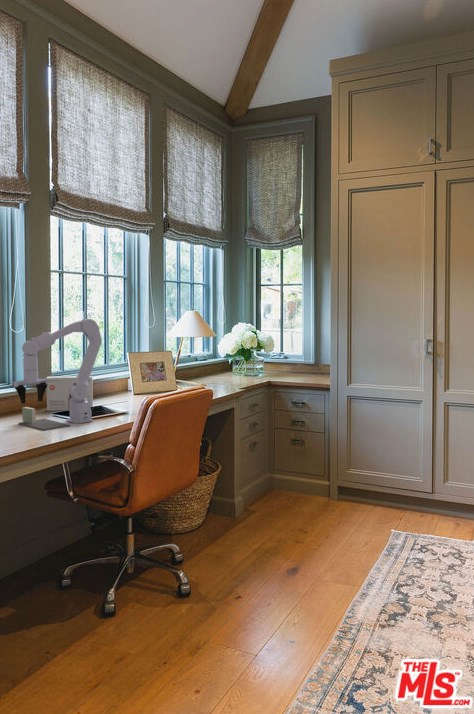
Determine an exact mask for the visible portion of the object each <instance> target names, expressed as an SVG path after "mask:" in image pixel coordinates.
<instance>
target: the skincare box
mask: <svg viewBox="0 0 474 714" xmlns="http://www.w3.org/2000/svg"><path fill="white" fill-rule="evenodd" d="M77 376H78V375H71V376H68V375H67V376H66V375H65V376H64V375H63V376H61V375H59V376H57V375H56V376H54V375H53V376H52V375H51V376H47V377H46V378H45V379H48V383H47V388H46V411H48V412H49V411H50V412H52V411H53V412H54V411H70V409H69V399H70V398H71V396H70V394H69V388H70V387H71V386H72V385H73V383H74V381H75V379H76V378H77ZM93 381H94V380H93V375H90V377H89V379H88V386H87V396H86V399H87V402H88V403H89V404H90V405H91V407H92V406H93V407H94V399H93V398H94V397H93V396H94V395H93V392H94V389H93V387H94V386H93V385H94V384H93Z"/></svg>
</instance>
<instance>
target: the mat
mask: <svg viewBox="0 0 474 714" xmlns="http://www.w3.org/2000/svg"><path fill="white" fill-rule="evenodd" d="M17 424H18V425H20V426H25V427H28V428H32V429H36V430H39V431H43V432H44V431H45V430H46V431H51V430H56V429H57V430H58V429H62V428H68V427H71V424H67V423H64V422H59V421H56V420H52V419H48V418H47V419H46V418H39V419H36V423H33V424H30V423H26V422H23V421H21V422H18V423H17Z"/></svg>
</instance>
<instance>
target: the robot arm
mask: <svg viewBox="0 0 474 714" xmlns="http://www.w3.org/2000/svg"><path fill="white" fill-rule="evenodd" d="M72 333H83V335H84V336H85V337H86V339H87V341H88V345H87V348H86V351H85V354H84V356H83V359H82V362H81V365H80V368H79V370H78V373H77V375H76V376H77V378H76V379H75V381H74V383H73V385H72V386H71V387H70V388H69V394H70V396H71V398H70V399H69V409H70V410H69V418H68V419H65V422H69V423H74V424H79V425H80V424H83V423H89V422H90V423H91V422H94V419H92V418H93V417H92V410H91V405H90V404H89V403H88V402H87V399H86V396H87V386H88V379H89V377H90V376H91V373H92V371H93V368H94V366H95V363H96V360H97V357H98V354H99V351H100V348H101V346H102V342H103V341H102V336H101V332H100V326H99V324H97V322H96V321H95V320H94V319H91V318H83V319H80V320H78V321H75V322H72V323H70V324H68V325H66V326H64V327H62V328H60V329H58V330H56V331H54V332H50V331H47V332H45V331H43V332H41V335H37V336H36V337H34V336H33V337H31V340H26V341H24V343H23V344H22V347H21V349H22V352H23V359H22V360H23V362H22V363H23V365H22V367H23V380H18V381H17V380H16V381H13V387H14V390H15V391H16V392H17V394H18V397H19V400H20V403H21V404H22V405H25V404H26V392H27V387H26V386H35V387H36V391H37V401H38V402H43V398H44V395H45V392H46V391H47V383H48V379H46V378H39V359H38V352H39V351H42V350H45V349H47V348H49V347H51V346H54V345H55V344H56V340H58V339H61V338H63V337H66V336H68V335H70V334H72Z"/></svg>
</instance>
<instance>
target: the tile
mask: <svg viewBox="0 0 474 714" xmlns="http://www.w3.org/2000/svg"><path fill="white" fill-rule="evenodd" d="M21 411H22V422H26V423H30V424H33V423H36V420H37V419H36V417H37V416H36V408H33V407H29V406H25V407H24V406H23V407H22V408H21Z"/></svg>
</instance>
